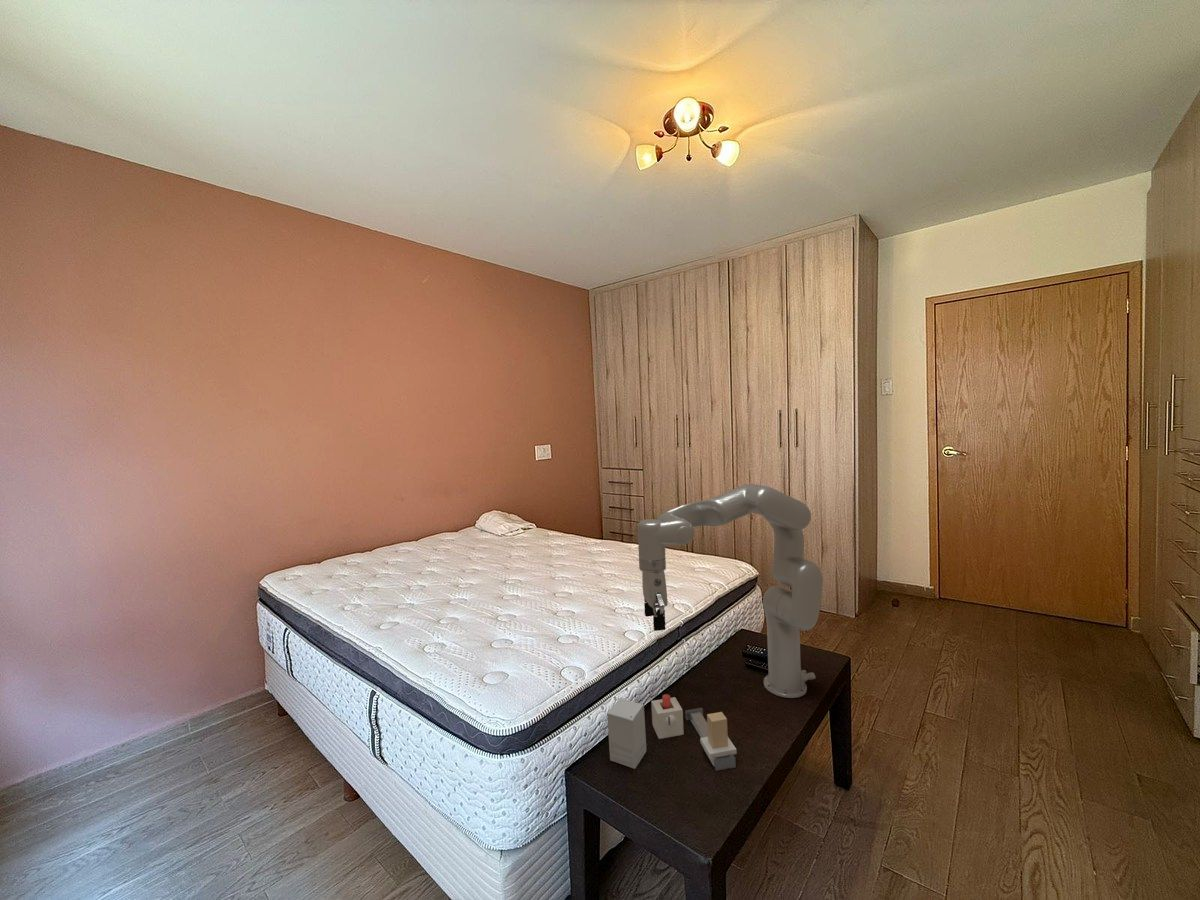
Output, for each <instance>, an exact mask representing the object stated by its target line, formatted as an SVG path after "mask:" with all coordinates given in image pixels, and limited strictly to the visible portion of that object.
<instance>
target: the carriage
mask: <svg viewBox="0 0 1200 900" xmlns="http://www.w3.org/2000/svg"><path fill="white" fill-rule="evenodd" d="M706 722H707V728H708V737H703V738H701V737H700V739H699V742H700V744H701V746H702V748H703V750H704V752H705V754H706V755H707V758H708V759H709V761H710V762H711V764H712V766H713V767H715V759H717V757H722V756H728V755H729V756H734V755H737V748H736V747H735V745H734V744H733V742H732V740H731V739H730V738H729V736H728V735H729V734H728V718H727V717H726V716H725V714H724V713H723V711H719V712H714V713H708V714H706Z"/></svg>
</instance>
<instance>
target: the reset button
mask: <svg viewBox="0 0 1200 900" xmlns="http://www.w3.org/2000/svg"><path fill="white" fill-rule="evenodd" d="M661 697H662V698H661V699H662V702H663V710H664V709H670V708H671V701H670V698H671V695H670V694H668V693H666V694H665V693H664V694H662V696H661Z"/></svg>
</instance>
